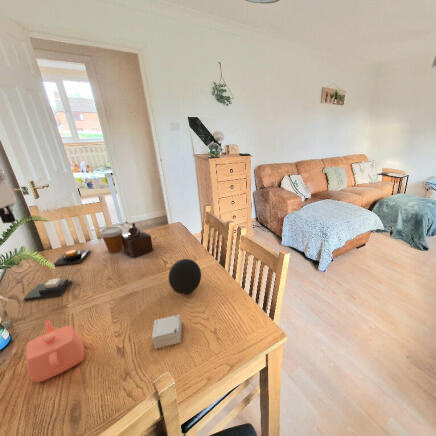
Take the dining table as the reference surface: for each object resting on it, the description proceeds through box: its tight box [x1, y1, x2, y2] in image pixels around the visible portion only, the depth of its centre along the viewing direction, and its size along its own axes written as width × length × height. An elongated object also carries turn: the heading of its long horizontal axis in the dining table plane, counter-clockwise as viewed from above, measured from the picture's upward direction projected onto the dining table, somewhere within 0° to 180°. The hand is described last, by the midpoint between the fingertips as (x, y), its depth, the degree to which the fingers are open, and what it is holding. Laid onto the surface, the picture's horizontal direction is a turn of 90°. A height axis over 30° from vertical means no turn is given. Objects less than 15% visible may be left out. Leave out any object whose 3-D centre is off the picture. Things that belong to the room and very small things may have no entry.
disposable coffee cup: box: [99, 226, 124, 254], centre depth 126 cm, size 10×10×12 cm
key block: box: [53, 249, 91, 267], centre depth 118 cm, size 10×12×3 cm
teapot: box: [25, 319, 85, 383], centre depth 68 cm, size 12×18×10 cm, turn 46°
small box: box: [151, 314, 182, 350], centre depth 79 cm, size 8×8×5 cm
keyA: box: [44, 278, 62, 288], centre depth 96 cm, size 4×4×2 cm
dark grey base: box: [23, 278, 72, 302], centre depth 96 cm, size 11×9×3 cm
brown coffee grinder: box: [121, 222, 154, 259], centre depth 123 cm, size 16×11×18 cm
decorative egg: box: [168, 258, 202, 295], centre depth 98 cm, size 12×12×15 cm
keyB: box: [64, 249, 77, 256], centre depth 118 cm, size 4×4×2 cm
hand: (9, 222), depth 97 cm, fingers closed
